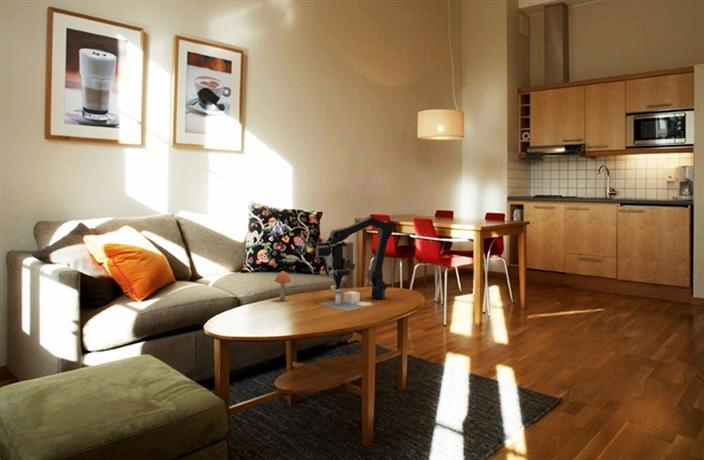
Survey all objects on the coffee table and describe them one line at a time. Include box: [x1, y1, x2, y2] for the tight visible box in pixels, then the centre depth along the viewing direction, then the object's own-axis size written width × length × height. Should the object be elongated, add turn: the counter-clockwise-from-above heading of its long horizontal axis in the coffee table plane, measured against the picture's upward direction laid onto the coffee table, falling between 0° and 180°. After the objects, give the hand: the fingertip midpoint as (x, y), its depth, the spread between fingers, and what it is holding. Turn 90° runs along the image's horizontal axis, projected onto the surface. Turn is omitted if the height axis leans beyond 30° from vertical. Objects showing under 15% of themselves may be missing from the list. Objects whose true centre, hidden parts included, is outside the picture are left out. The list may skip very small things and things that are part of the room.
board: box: [318, 292, 376, 312], centre depth 240 cm, size 19×20×7 cm
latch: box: [330, 284, 343, 294], centre depth 241 cm, size 12×4×1 cm, turn 15°
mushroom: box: [274, 270, 292, 302], centre depth 252 cm, size 8×8×15 cm
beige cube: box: [343, 290, 361, 304], centre depth 244 cm, size 5×5×5 cm
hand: (338, 287), depth 245 cm, fingers closed
